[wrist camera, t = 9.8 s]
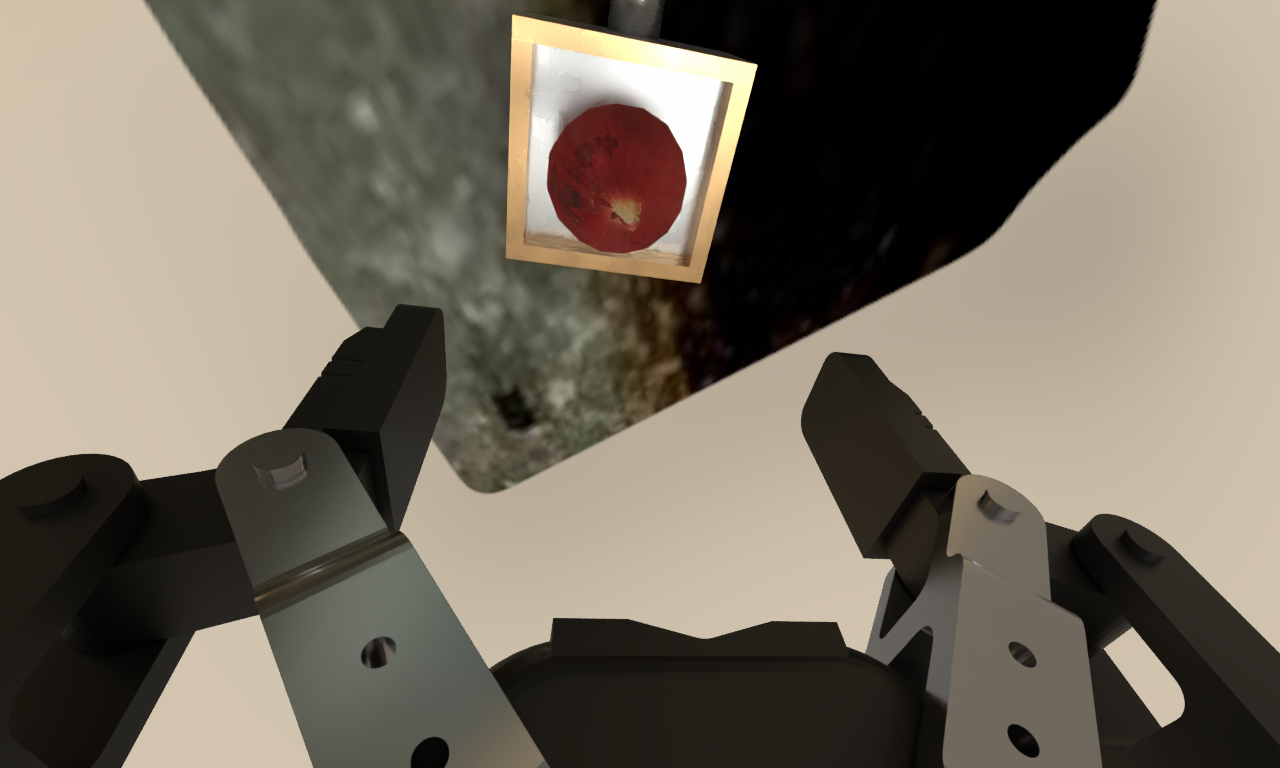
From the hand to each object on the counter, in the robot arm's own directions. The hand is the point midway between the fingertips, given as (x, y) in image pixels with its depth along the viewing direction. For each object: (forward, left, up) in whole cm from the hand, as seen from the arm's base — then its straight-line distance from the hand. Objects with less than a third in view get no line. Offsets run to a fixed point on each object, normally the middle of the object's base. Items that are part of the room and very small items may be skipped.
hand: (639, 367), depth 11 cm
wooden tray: (-1, 0, -23) cm, 23 cm away
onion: (0, 0, -18) cm, 18 cm away
